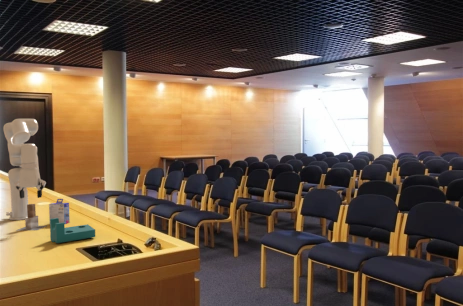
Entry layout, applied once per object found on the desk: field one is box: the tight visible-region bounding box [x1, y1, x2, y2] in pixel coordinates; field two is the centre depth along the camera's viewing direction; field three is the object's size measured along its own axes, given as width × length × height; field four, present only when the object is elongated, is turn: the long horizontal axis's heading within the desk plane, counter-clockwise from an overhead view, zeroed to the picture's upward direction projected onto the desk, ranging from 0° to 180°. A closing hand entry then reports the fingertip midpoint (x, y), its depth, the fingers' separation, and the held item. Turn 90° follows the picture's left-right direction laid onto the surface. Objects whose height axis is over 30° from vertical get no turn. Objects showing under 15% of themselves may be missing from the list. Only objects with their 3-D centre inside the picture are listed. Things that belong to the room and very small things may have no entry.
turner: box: [24, 203, 39, 231], centre depth 237 cm, size 3×8×13 cm, turn 177°
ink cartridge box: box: [48, 198, 71, 225], centre depth 248 cm, size 10×6×14 cm, turn 78°
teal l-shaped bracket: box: [49, 218, 96, 244], centre depth 209 cm, size 18×11×10 cm, turn 127°
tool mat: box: [15, 225, 47, 232], centre depth 237 cm, size 12×12×1 cm
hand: (30, 197), depth 236 cm, fingers open, 9 cm apart
